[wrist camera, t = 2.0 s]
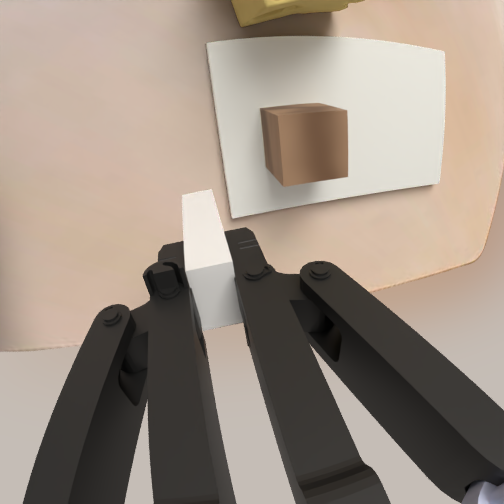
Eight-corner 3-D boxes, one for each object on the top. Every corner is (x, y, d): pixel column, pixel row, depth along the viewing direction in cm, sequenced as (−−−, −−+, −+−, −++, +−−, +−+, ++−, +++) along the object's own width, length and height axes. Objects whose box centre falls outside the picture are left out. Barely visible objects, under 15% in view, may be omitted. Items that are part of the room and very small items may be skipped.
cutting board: (230, 213, 34) (232, 218, 33) (205, 44, 24) (206, 42, 23) (433, 180, 37) (439, 183, 36) (438, 51, 27) (444, 51, 26)
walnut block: (265, 166, 31) (283, 187, 26) (259, 107, 27) (277, 115, 22) (320, 158, 31) (348, 177, 26) (318, 102, 28) (347, 110, 23)
